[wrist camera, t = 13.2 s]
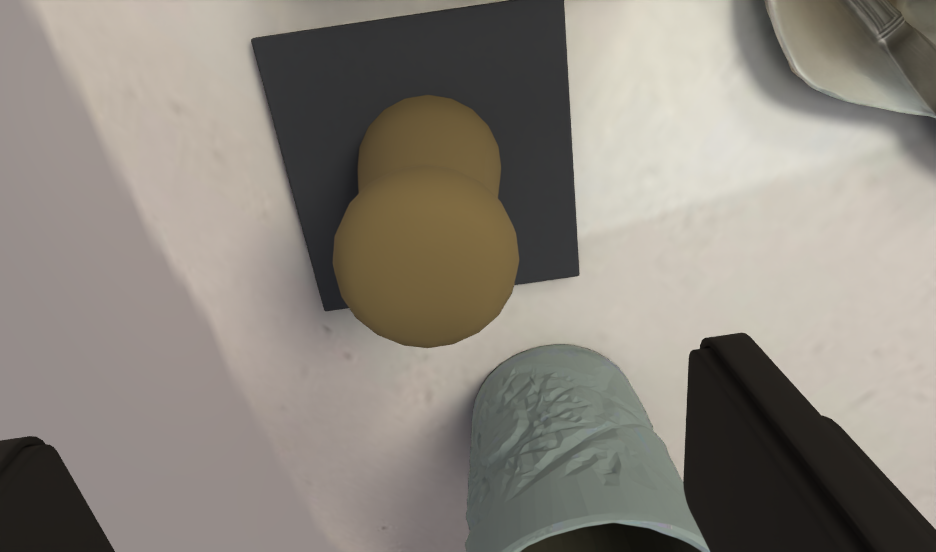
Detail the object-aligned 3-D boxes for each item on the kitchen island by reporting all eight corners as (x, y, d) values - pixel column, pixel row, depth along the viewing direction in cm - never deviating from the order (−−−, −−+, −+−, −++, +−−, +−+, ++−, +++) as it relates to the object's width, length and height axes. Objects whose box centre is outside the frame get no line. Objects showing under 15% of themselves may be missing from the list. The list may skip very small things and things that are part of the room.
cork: (388, 252, 27) (360, 407, 17) (334, 122, 24) (264, 216, 14) (517, 211, 26) (566, 346, 17) (476, 74, 24) (506, 136, 14)
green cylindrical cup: (637, 474, 34) (730, 699, 23) (460, 490, 34) (471, 724, 23) (647, 320, 30) (766, 509, 19) (443, 338, 30) (447, 538, 19)
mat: (326, 306, 29) (324, 312, 28) (254, 37, 23) (250, 39, 23) (577, 271, 28) (579, 276, 28) (560, -8, 23) (563, -8, 23)
